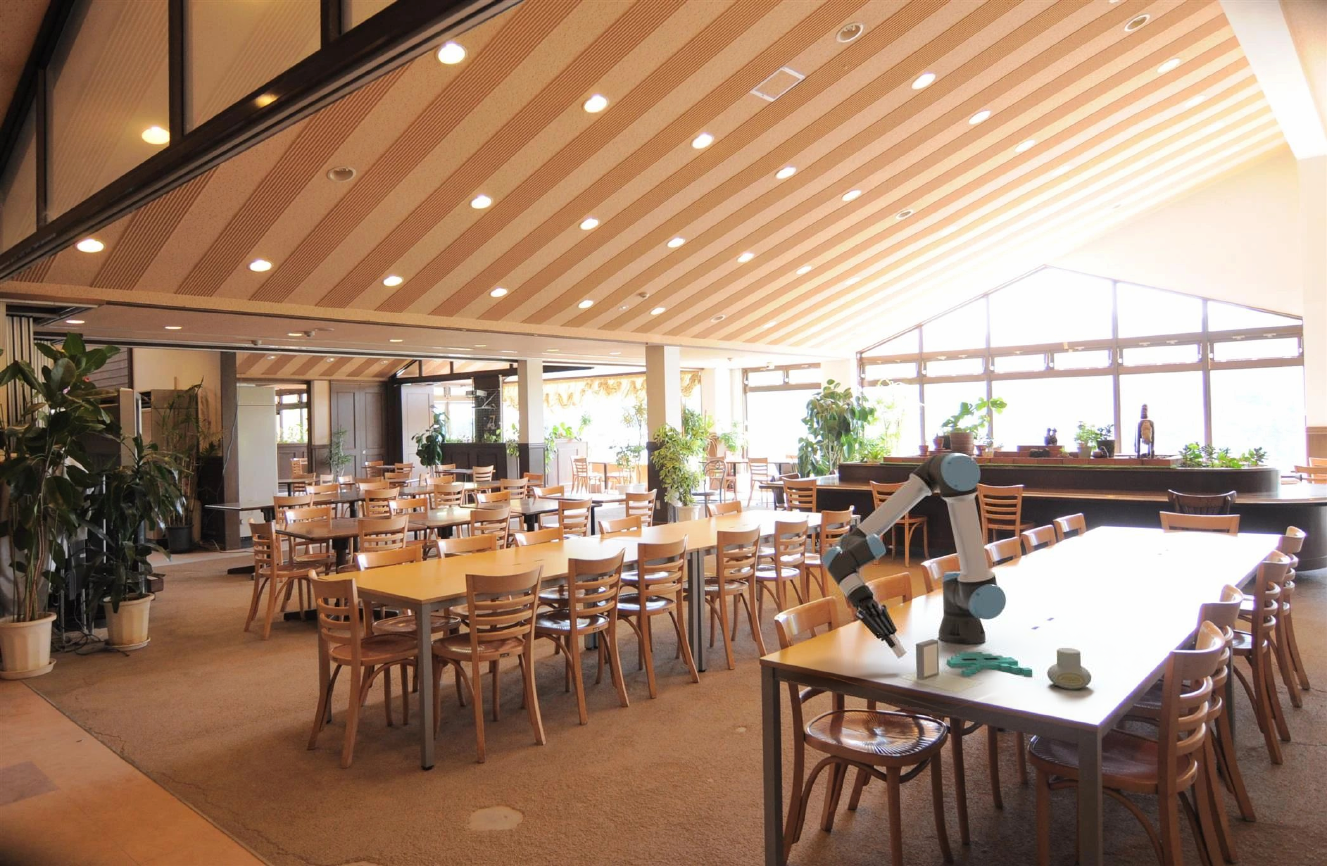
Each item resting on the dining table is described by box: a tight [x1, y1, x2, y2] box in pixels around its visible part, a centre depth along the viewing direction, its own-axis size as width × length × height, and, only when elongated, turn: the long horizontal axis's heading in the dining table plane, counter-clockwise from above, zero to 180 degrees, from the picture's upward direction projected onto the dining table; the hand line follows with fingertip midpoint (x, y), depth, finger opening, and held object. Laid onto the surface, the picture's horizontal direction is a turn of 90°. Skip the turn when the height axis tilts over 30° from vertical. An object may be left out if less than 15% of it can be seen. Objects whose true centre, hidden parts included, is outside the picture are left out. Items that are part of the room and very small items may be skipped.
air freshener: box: [1046, 647, 1092, 691], centre depth 227 cm, size 11×8×10 cm
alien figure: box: [946, 651, 1033, 677], centre depth 247 cm, size 20×2×20 cm
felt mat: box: [900, 671, 983, 693], centre depth 234 cm, size 18×13×1 cm
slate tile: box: [915, 638, 940, 680], centre depth 237 cm, size 2×8×10 cm, turn 128°
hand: (902, 655), depth 244 cm, fingers closed
